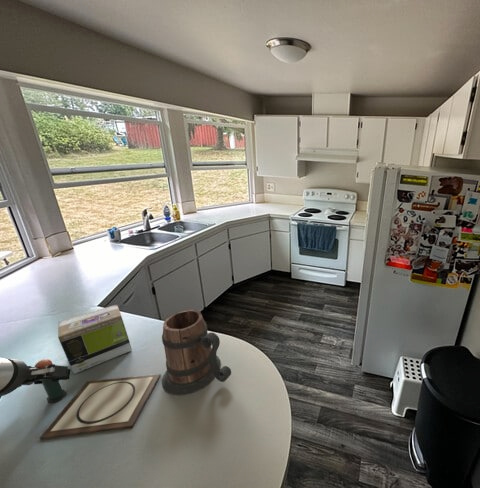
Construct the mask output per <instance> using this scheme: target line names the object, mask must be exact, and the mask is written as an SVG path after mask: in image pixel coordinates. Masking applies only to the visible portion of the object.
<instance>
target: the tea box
mask: <svg viewBox="0 0 480 488" xmlns="http://www.w3.org/2000/svg"><path fill="white" fill-rule="evenodd" d="M57 338H58V341H59V343H60V346H61V348H62V350H63V353H64V356H65V357H66V359H67V362H68V365H69V366H70V369H71V371H72V373H73V374H74V375H76V374H78V373H81V372H83V371H85V370H89V369H90V368H92V367H95V366H97V365H100V364H102V363H104V362H107V361H109V360H113V359H114V358H117V357H119V356H121V355H124V354H126V353H129V352H132V351H133V348H132V346H131V341H130V339H129V335H128V332H127V328H126V326H125V323H124V320H123V316H122V313H121V312H120V308H119V306H118V304H113V305H109V306H107V307H103V308H100V309H97V310H94V311H90V312H87V313H84V314H80V315H77V316H74V317H71V318H68V319H65V320H61V321H58V333H57Z"/></svg>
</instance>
